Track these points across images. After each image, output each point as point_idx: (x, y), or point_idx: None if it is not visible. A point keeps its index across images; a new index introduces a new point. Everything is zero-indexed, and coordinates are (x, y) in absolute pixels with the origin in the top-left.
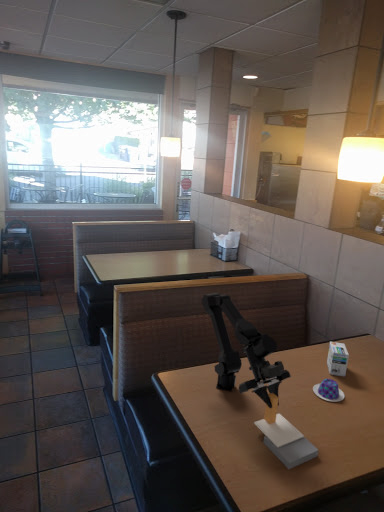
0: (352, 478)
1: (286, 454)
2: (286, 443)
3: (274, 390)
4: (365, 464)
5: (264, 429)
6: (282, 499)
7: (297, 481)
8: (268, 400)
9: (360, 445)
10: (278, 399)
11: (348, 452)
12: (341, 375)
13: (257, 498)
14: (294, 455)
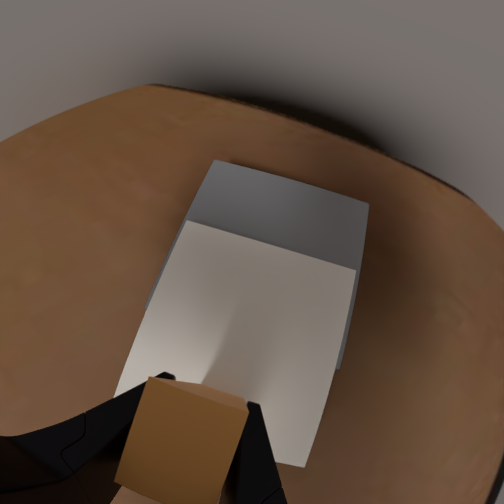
0: (226, 99)
1: (346, 231)
2: (300, 255)
3: (84, 473)
4: (151, 99)
5: (310, 392)
6: (443, 190)
7: (370, 183)
8: (266, 459)
9: (83, 130)
10: (129, 391)
11: (130, 133)
12: None
13: (489, 236)
14: (322, 206)
